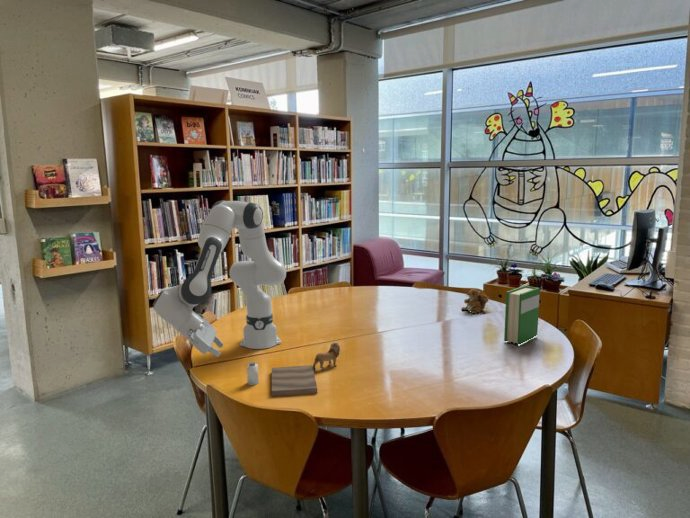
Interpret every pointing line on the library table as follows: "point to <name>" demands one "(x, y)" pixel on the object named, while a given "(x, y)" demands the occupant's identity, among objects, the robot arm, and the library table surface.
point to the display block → (293, 380)
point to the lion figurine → (327, 356)
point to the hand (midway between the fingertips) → (220, 350)
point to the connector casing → (252, 373)
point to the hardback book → (521, 314)
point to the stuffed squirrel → (475, 301)
